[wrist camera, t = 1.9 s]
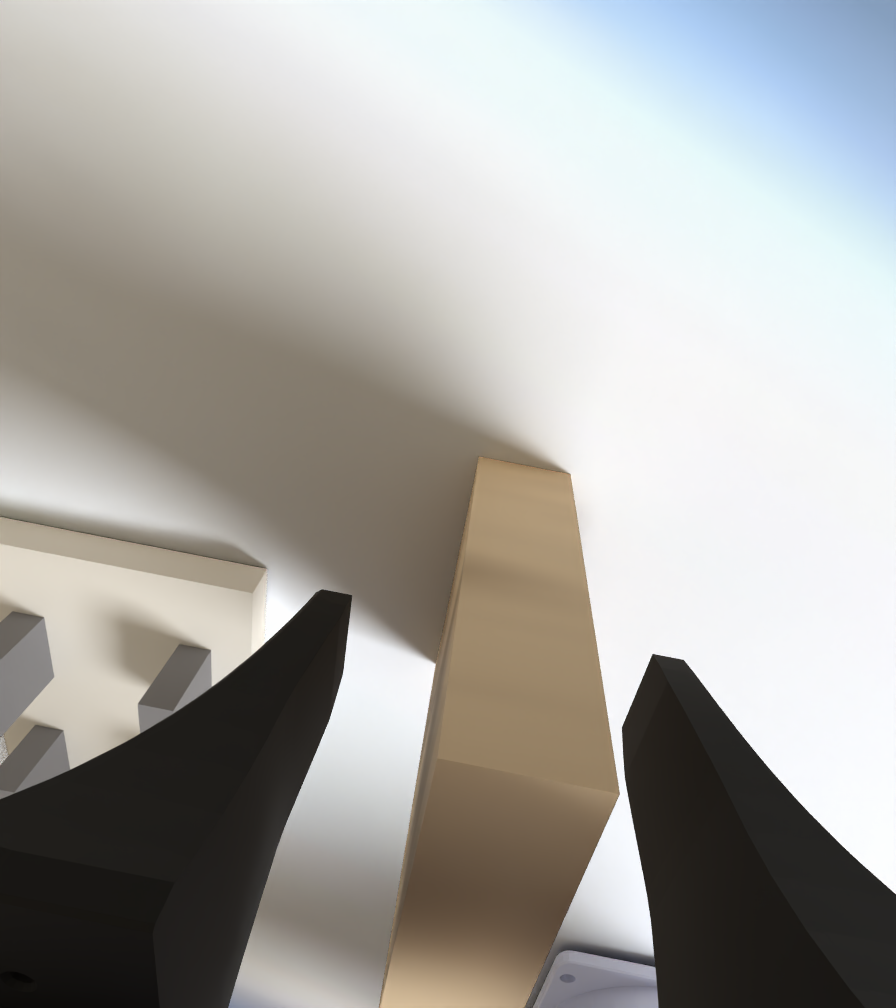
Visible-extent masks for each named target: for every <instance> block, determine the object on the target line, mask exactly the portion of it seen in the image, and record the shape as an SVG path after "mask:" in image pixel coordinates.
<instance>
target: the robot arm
mask: <svg viewBox="0 0 896 1008" xmlns="http://www.w3.org/2000/svg"><path fill="white" fill-rule="evenodd" d="M351 601H352V595H348V594H343V593H338V592H333V591H328V590H320V591H318V592H316V593H315V594H314V595H313V597H312V598H311V599H310V600H309V601H308V602H307V603H306V604H305V605H304V606H303V607H302V608H301V609H300V610H299V612H298V613H297V614H296V615H295V616H294V617H293V618H292V619H291V620H290V621H289V622H287V623H286V624H285V625H284V626H283V627H282V628H281V629H280V630H279V631H278V632H277V633H276V634H275V635H274V636H273V637H272V638H270V639H269V640H268V641H267V642H266V643H265V644H264V645H263V646H262V647H261V648H259V649H258V650H257V651H256V652H255V653H254V654H253V655H251V656H250V657H249V658H248V659H247V660H245V661H244V662H243V663H242V664H240V665H239V666H238V667H237V668H235V669H234V670H233V671H232V672H230V673H229V674H228V675H227V676H225V677H224V678H223V679H222V680H220V681H219V682H218V683H216V684H215V685H214V686H212V687H211V688H210V689H208V690H207V691H206V692H204V693H203V694H201V695H200V696H198V697H197V698H196V699H194V700H193V701H191V702H190V703H188V704H187V705H185V706H184V707H182V708H181V709H179V710H178V711H176V712H175V713H173V714H172V715H170V716H168V717H167V718H165V719H163V720H162V721H160V722H158V723H157V724H155V725H153V726H152V727H150V728H149V729H147V730H145V731H144V732H142V733H140V734H138V735H137V736H135V737H133V738H131V739H130V740H128V741H126V742H124V743H122V744H121V745H119V746H117V747H115V748H113V749H111V750H109V751H107V752H105V753H103V754H101V755H99V756H97V757H95V758H93V759H91V760H89V761H87V762H85V763H83V764H81V765H79V766H77V767H75V768H73V769H71V770H69V771H66V772H64V773H62V774H60V775H57V776H55V777H53V778H51V779H48V780H46V781H43V782H41V783H39V784H36V785H34V786H31V787H29V788H26V789H24V790H21V791H19V792H17V793H14V794H12V795H9V796H7V797H4V798H2V799H0V1008H228V1006H229V1003H230V999H231V996H232V992H233V989H234V986H235V982H236V979H237V976H238V972H239V969H240V966H241V962H242V959H243V955H244V952H245V949H246V946H247V942H248V939H249V936H250V933H251V929H252V926H253V923H254V920H255V916H256V913H257V910H258V907H259V903H260V900H261V897H262V894H263V890H264V887H265V884H266V881H267V878H268V875H269V871H270V868H271V865H272V862H273V859H274V856H275V852H276V849H277V846H278V843H279V841H280V838H281V835H282V833H283V830H284V827H285V825H286V822H287V820H288V817H289V815H290V813H291V810H292V808H293V805H294V803H295V801H296V798H297V796H298V793H299V791H300V789H301V786H302V784H303V782H304V779H305V777H306V774H307V772H308V770H309V767H310V765H311V763H312V760H313V758H314V755H315V753H316V751H317V748H318V746H319V743H320V741H321V739H322V736H323V734H324V731H325V729H326V727H327V724H328V722H329V719H330V716H331V713H332V709H333V706H334V703H335V699H336V696H337V692H338V689H339V685H340V682H341V678H342V675H343V669H344V661H345V652H346V643H347V635H348V626H349V618H350V609H351ZM622 738H623V758H624V771H625V781H626V786H627V792H628V797H629V803H630V808H631V814H632V819H633V824H634V829H635V834H636V840H637V845H638V850H639V855H640V860H641V865H642V870H643V876H644V881H645V886H646V891H647V897H648V904H649V910H650V917H651V926H652V936H653V947H654V958H655V967H653V966H648V965H643V964H637V963H632V962H627V961H622V960H617V959H612V958H607V957H602V956H597V955H592V954H587V953H582V952H577V951H570V950H568V951H563V952H561V953H559V954H558V955H557V956H556V958H555V960H554V963H553V965H552V967H551V969H550V971H549V973H548V976H547V978H546V980H545V982H544V984H543V986H542V989H541V991H540V993H539V995H538V997H537V1000H536V1002H535V1004H534V1006H533V1008H896V894H895V893H894V892H892V891H891V890H890V889H889V888H888V887H887V886H886V885H884V884H883V883H882V882H881V881H880V880H879V879H878V878H877V877H875V876H874V875H873V874H872V873H871V872H870V871H869V870H868V869H866V868H865V867H864V866H863V865H862V864H861V863H860V862H859V861H858V860H857V859H855V858H854V857H853V856H852V855H851V854H850V853H849V852H848V851H847V850H846V849H845V848H844V847H843V846H842V845H841V844H840V843H839V842H838V841H837V840H836V839H835V838H834V837H833V836H832V835H831V834H830V833H829V832H828V831H827V830H826V829H825V828H824V827H823V826H822V825H821V824H820V823H819V822H818V821H817V820H816V819H815V818H814V817H813V816H812V815H811V814H810V813H809V812H808V811H807V810H806V809H805V808H804V807H803V806H802V805H801V804H800V803H799V802H798V801H797V799H796V798H795V797H794V796H793V795H792V794H791V793H790V792H789V791H788V789H787V788H786V787H785V786H784V785H783V784H782V783H781V781H780V780H779V779H778V778H777V777H776V776H775V775H774V774H773V772H772V771H771V770H770V769H769V768H768V767H767V765H766V764H765V763H764V762H763V761H762V759H761V758H760V757H759V756H758V755H757V754H756V752H755V751H754V750H753V749H752V747H751V746H750V745H749V744H748V742H747V741H746V740H745V739H744V737H743V736H742V735H741V734H740V732H739V731H738V730H737V729H736V727H735V726H734V725H733V724H732V722H731V721H730V720H729V718H728V717H727V716H726V714H725V713H724V712H723V711H722V709H721V708H720V707H719V705H718V704H717V703H716V701H715V700H714V699H713V697H712V696H711V695H710V693H709V692H708V691H707V689H706V688H705V687H704V685H703V684H702V683H701V682H700V680H699V679H698V678H697V676H696V675H695V674H694V672H693V671H692V670H691V669H690V667H689V666H688V665H687V664H686V662H685V661H684V660H681V659H676V658H671V657H665V656H660V655H655V654H653V655H652V657H651V659H650V662H649V664H648V667H647V669H646V671H645V674H644V676H643V679H642V681H641V683H640V686H639V688H638V691H637V693H636V695H635V698H634V700H633V703H632V705H631V707H630V710H629V712H628V715H627V717H626V719H625V722H624V724H623V727H622Z"/></svg>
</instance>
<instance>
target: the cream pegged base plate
mask: <svg viewBox="0 0 896 1008" xmlns="http://www.w3.org/2000/svg"><path fill="white" fill-rule="evenodd" d="M266 593H267V569H265V568H259V567H254V566H249V565H244V564H239V563H234V562H229V561H224V560H218V559H213V558H208V557H203V556H198V555H193V554H188V553H183V552H178V551H172V550H167V549H162V548H157V547H152V546H147V545H142V544H137V543H131V542H126V541H121V540H116V539H111V538H106V537H101V536H96V535H90V534H85V533H80V532H75V531H70V530H65V529H60V528H55V527H49V526H44V525H39V524H34V523H29V522H24V521H19V520H14V519H8V518H3V517H0V737H2V735H3V734H4V738H5V742H6V747H7V751H8V755H9V756H8V757H7V759H6V760H5V761H4V762H3V763H2V764H1V766H0V799H2V798H4V797H7V796H9V795H12V794H14V793H17V792H19V791H21V790H24V789H26V788H29V787H31V786H34V785H36V784H39V783H41V782H43V781H46V780H48V779H51V778H53V777H55V776H57V775H60V774H62V773H64V772H66V771H69V770H71V769H73V768H75V767H77V766H79V765H81V764H83V763H85V762H87V761H89V760H91V759H93V758H95V757H97V756H99V755H101V754H103V753H105V752H107V751H109V750H111V749H113V748H115V747H117V746H119V745H121V744H122V743H124V742H126V741H128V740H130V739H131V738H133V737H135V736H137V735H138V734H140V733H142V732H144V731H145V730H147V729H149V728H150V727H152V726H153V725H155V724H157V723H158V722H160V721H162V720H163V719H165V718H167V717H168V716H170V715H172V714H173V713H175V712H176V711H178V710H179V709H181V708H182V707H184V706H185V705H187V704H188V703H190V702H191V701H193V700H194V699H196V698H197V697H198V696H200V695H201V694H203V693H204V692H206V691H207V690H208V689H210V688H211V687H212V686H214V685H215V684H216V683H218V682H219V681H220V680H222V679H223V678H224V677H225V676H227V675H228V674H229V673H230V672H232V671H233V670H234V669H235V668H237V667H238V666H239V665H240V664H242V663H243V662H244V661H245V660H247V659H248V658H249V657H250V656H251V655H253V654H254V653H255V652H256V651H257V650H258V649H259V648H261V647H262V646H263V645H264V644H265V620H266Z"/></svg>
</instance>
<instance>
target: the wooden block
mask: <svg viewBox="0 0 896 1008" xmlns="http://www.w3.org/2000/svg"><path fill="white" fill-rule="evenodd" d="M619 795H620V792H619V786H618V779H617V773H616V766H615V760H614V753H613V747H612V740H611V734H610V727H609V721H608V715H607V708H606V702H605V695H604V689H603V682H602V676H601V669H600V663H599V656H598V650H597V643H596V637H595V630H594V624H593V617H592V611H591V604H590V598H589V592H588V585H587V579H586V572H585V566H584V559H583V553H582V546H581V540H580V533H579V527H578V520H577V514H576V507H575V501H574V494H573V488H572V481H571V475H570V474H567V473H562V472H557V471H552V470H547V469H541V468H536V467H531V466H526V465H521V464H516V463H510V462H505V461H500V460H495V459H490V458H485V457H479V458H478V463H477V468H476V473H475V478H474V483H473V487H472V492H471V497H470V502H469V507H468V511H467V516H466V521H465V526H464V531H463V536H462V540H461V545H460V550H459V555H458V560H457V564H456V569H455V574H454V579H453V584H452V589H451V593H450V598H449V603H448V608H447V613H446V617H445V622H444V627H443V632H442V637H441V641H440V646H439V651H438V656H437V661H436V666H435V672H434V678H433V684H432V690H431V696H430V702H429V708H428V714H427V720H426V726H425V732H424V738H423V744H422V750H421V756H420V762H419V768H418V774H417V780H416V787H415V793H414V799H413V805H412V811H411V817H410V823H409V829H408V835H407V841H406V847H405V853H404V859H403V865H402V871H401V877H400V883H399V889H398V895H397V901H396V907H395V913H394V919H393V925H392V931H391V937H390V943H389V949H388V955H387V961H386V967H385V973H384V979H383V985H382V991H381V997H380V1003H379V1008H524V1007H525V1005H526V1003H527V1001H528V998H529V996H530V994H531V992H532V990H533V987H534V985H535V983H536V981H537V978H538V976H539V974H540V972H541V969H542V967H543V965H544V963H545V960H546V958H547V956H548V954H549V951H550V949H551V947H552V945H553V942H554V940H555V938H556V936H557V933H558V931H559V929H560V927H561V925H562V922H563V920H564V918H565V916H566V913H567V911H568V909H569V907H570V904H571V902H572V900H573V898H574V895H575V893H576V891H577V889H578V886H579V884H580V882H581V880H582V877H583V875H584V873H585V871H586V869H587V866H588V864H589V862H590V860H591V857H592V855H593V853H594V851H595V848H596V846H597V844H598V842H599V839H600V837H601V835H602V833H603V830H604V828H605V826H606V824H607V821H608V819H609V817H610V815H611V812H612V810H613V808H614V806H615V804H616V801H617V799H618V797H619Z"/></svg>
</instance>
